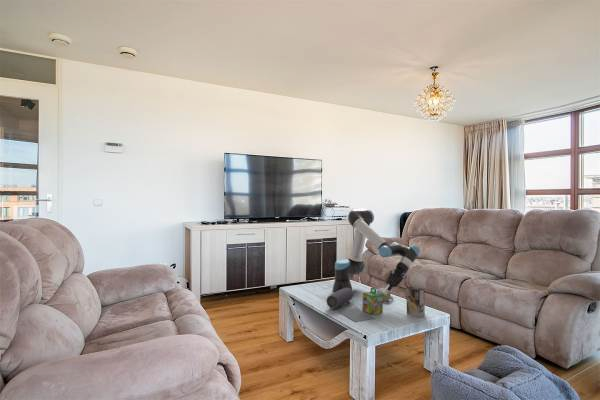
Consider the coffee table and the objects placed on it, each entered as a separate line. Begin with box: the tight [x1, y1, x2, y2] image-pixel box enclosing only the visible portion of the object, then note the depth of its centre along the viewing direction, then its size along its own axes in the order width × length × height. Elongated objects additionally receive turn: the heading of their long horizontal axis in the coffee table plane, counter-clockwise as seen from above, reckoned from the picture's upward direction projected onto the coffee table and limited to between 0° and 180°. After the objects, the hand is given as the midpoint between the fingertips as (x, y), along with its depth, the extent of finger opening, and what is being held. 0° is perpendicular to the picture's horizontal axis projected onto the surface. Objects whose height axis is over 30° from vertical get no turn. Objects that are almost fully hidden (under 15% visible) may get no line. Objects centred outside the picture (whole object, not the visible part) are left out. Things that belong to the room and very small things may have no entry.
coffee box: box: [405, 286, 426, 318], centre depth 195 cm, size 9×6×16 cm
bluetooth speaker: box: [326, 288, 354, 309], centre depth 213 cm, size 23×9×10 cm, turn 145°
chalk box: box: [362, 286, 384, 316], centre depth 201 cm, size 9×9×15 cm
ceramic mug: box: [376, 287, 394, 302], centre depth 225 cm, size 11×8×8 cm
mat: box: [336, 307, 375, 323], centre depth 195 cm, size 20×14×1 cm
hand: (384, 293), depth 205 cm, fingers closed
